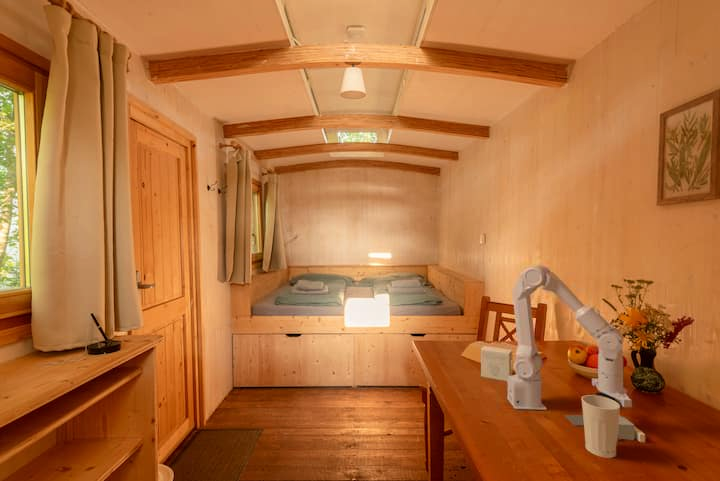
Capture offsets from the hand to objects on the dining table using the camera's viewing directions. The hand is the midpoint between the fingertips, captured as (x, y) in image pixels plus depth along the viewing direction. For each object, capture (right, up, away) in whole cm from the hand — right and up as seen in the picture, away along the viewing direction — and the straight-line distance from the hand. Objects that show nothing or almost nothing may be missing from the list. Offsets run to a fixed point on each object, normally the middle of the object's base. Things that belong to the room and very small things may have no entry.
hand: (610, 421), depth 101 cm
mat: (-7, -1, +3) cm, 8 cm away
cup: (-10, -2, -11) cm, 15 cm away
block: (0, -2, -5) cm, 5 cm away
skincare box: (-18, -2, +37) cm, 41 cm away
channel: (0, -1, -1) cm, 2 cm away
